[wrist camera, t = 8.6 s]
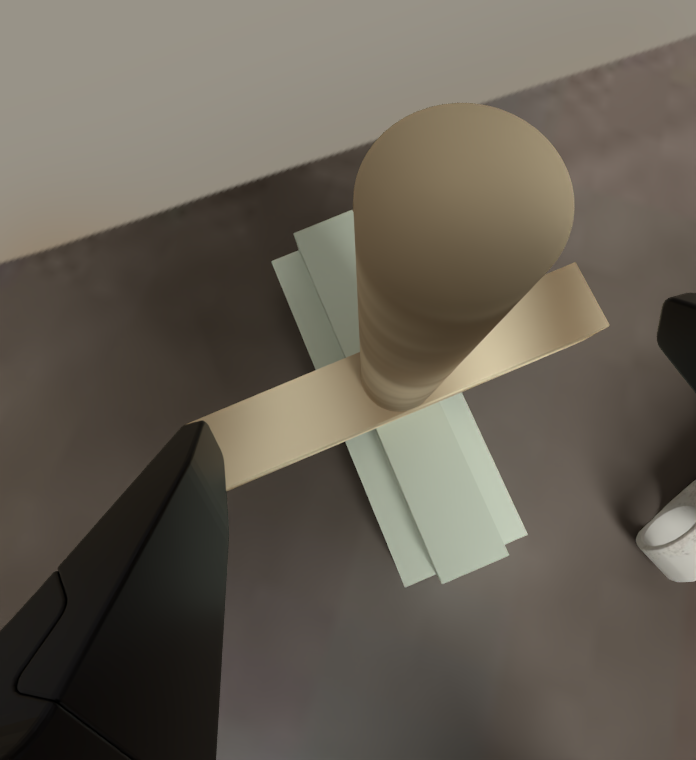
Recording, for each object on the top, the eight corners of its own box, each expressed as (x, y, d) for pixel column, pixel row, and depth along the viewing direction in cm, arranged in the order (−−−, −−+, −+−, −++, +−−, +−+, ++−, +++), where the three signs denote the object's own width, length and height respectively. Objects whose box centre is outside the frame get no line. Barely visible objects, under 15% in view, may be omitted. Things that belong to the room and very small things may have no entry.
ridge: (504, 524, 21) (542, 540, 16) (399, 569, 21) (408, 599, 16) (378, 248, 23) (381, 197, 19) (283, 287, 23) (263, 245, 19)
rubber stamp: (552, 284, 18) (958, -105, 6) (582, 341, 18) (1090, 54, 5) (205, 428, 18) (-173, 346, 5) (228, 490, 17) (-126, 560, 5)
